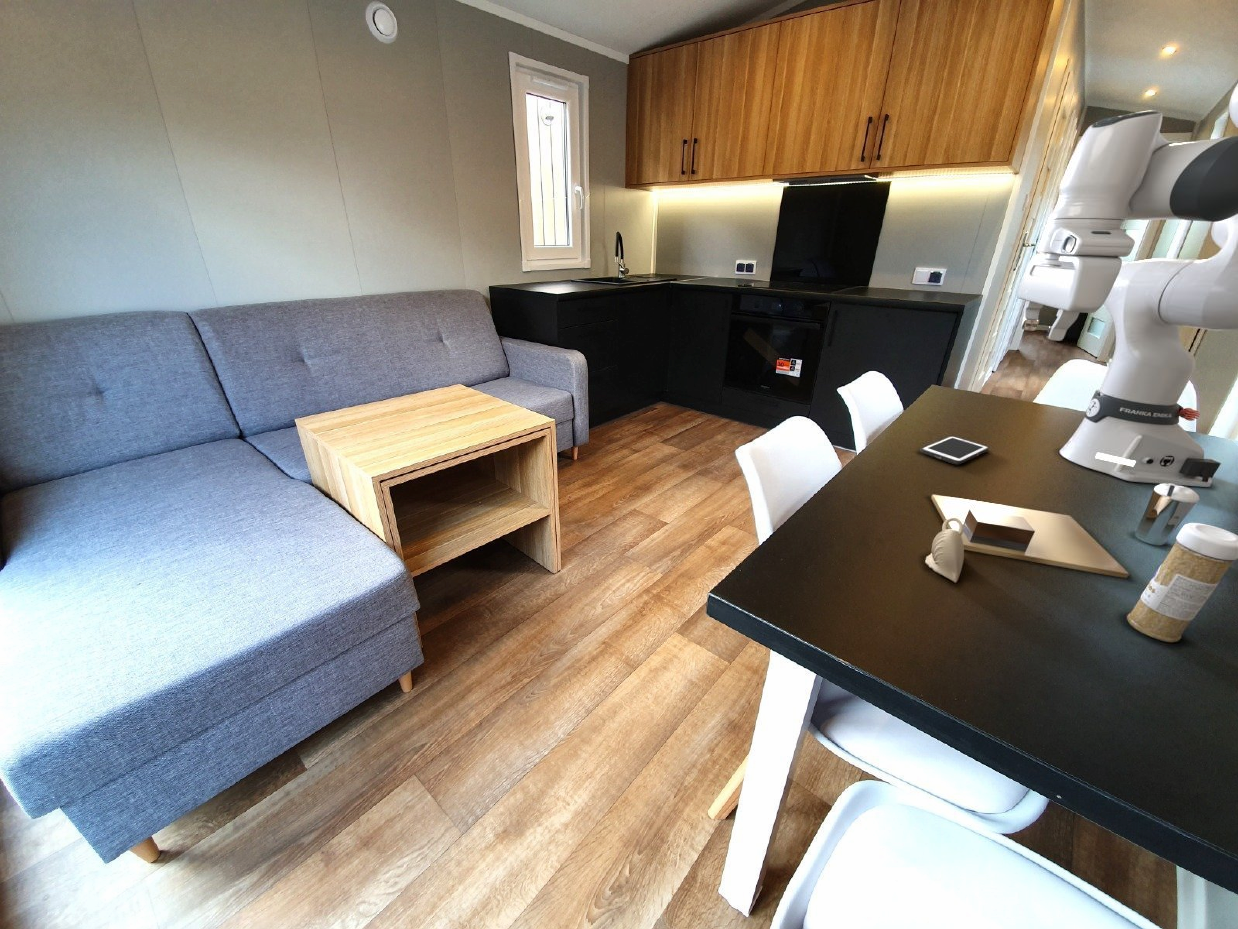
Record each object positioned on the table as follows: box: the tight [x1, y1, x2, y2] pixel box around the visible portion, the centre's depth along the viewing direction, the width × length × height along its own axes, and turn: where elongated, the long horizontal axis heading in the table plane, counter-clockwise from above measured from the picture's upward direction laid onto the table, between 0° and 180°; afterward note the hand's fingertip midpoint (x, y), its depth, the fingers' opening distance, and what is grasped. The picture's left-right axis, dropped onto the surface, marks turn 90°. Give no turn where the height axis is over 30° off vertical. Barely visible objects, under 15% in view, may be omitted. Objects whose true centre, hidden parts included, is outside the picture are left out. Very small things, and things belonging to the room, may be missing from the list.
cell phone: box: [920, 435, 989, 466], centre depth 104 cm, size 8×15×1 cm, turn 125°
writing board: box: [930, 494, 1130, 579], centre depth 75 cm, size 20×16×1 cm
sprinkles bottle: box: [1126, 522, 1238, 643], centre depth 54 cm, size 5×5×13 cm
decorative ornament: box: [924, 517, 965, 583], centre depth 66 cm, size 4×8×5 cm, turn 139°
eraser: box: [963, 509, 1035, 552], centre depth 71 cm, size 7×4×4 cm, turn 72°
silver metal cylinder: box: [1134, 483, 1200, 547], centre depth 73 cm, size 4×5×10 cm
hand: (1039, 334), depth 80 cm, fingers open, 8 cm apart
